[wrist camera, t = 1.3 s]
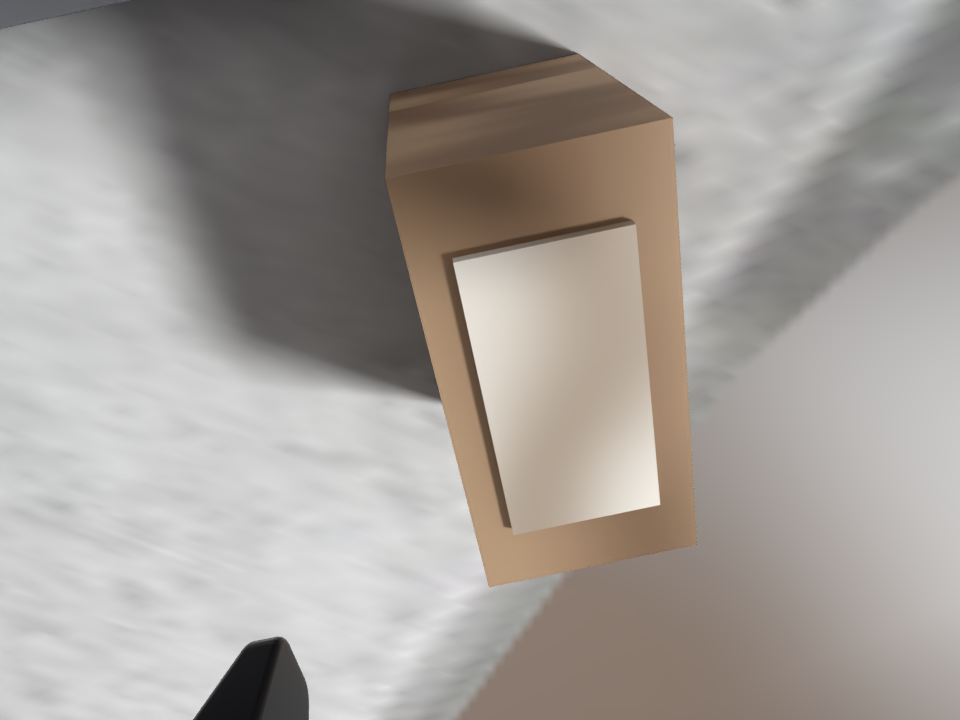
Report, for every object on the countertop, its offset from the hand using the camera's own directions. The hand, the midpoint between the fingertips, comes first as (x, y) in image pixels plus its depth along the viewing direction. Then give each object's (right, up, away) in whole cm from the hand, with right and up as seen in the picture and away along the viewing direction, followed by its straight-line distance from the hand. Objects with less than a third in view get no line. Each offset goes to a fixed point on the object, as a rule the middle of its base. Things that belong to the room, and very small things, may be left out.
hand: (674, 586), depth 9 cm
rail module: (-1, +5, +11) cm, 13 cm away
